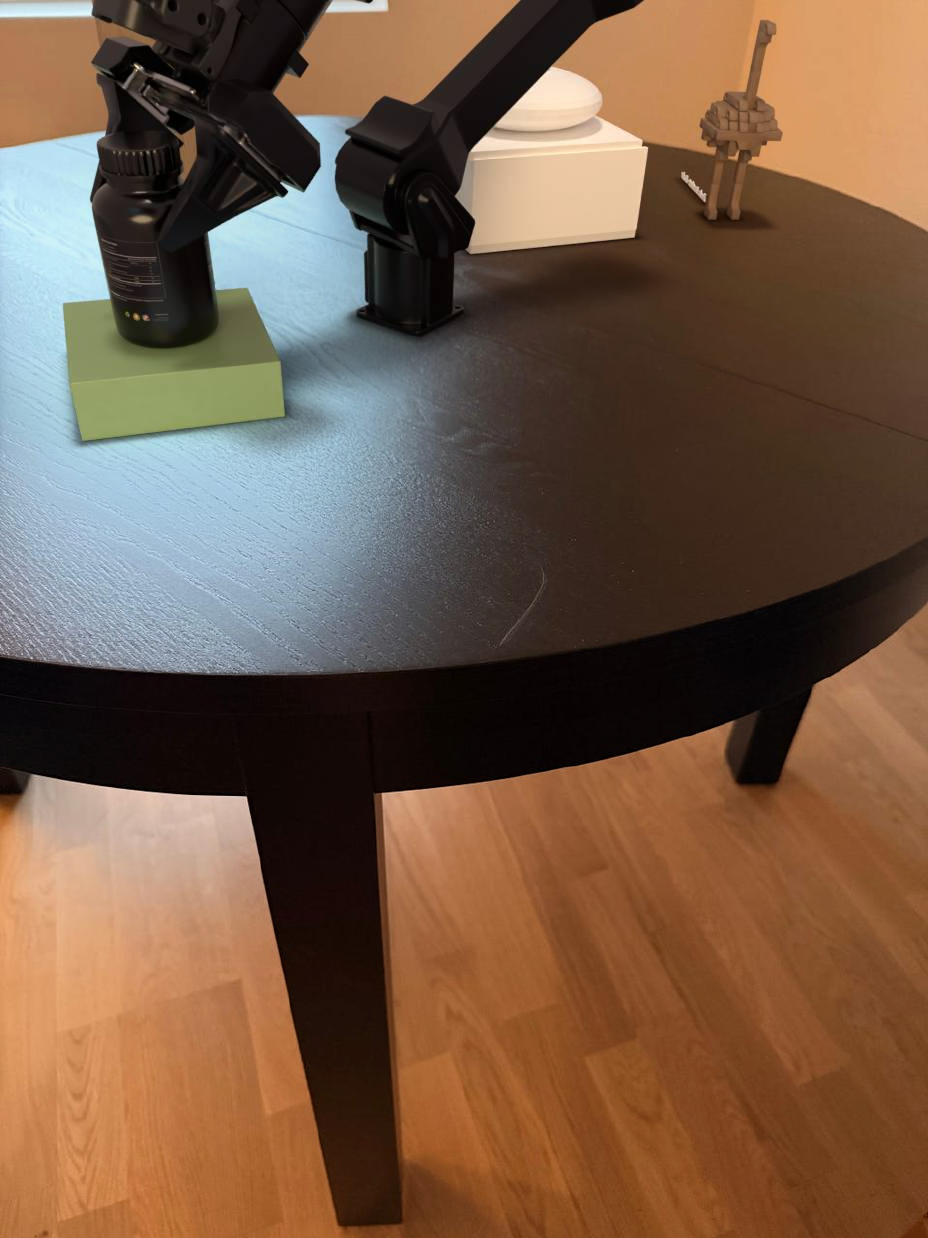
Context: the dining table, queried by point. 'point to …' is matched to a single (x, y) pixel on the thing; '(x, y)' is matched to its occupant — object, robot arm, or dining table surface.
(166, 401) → the green block
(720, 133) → the ostrich figurine
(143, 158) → the supplement bottle
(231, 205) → the robot arm
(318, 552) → the dining table surface
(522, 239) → the butter dish
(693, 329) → the dining table surface
